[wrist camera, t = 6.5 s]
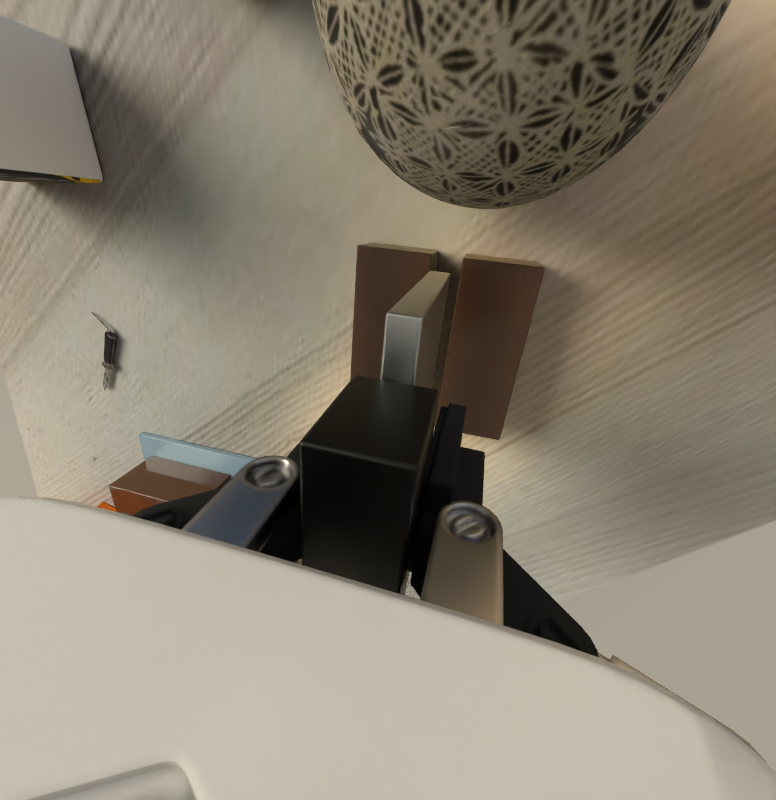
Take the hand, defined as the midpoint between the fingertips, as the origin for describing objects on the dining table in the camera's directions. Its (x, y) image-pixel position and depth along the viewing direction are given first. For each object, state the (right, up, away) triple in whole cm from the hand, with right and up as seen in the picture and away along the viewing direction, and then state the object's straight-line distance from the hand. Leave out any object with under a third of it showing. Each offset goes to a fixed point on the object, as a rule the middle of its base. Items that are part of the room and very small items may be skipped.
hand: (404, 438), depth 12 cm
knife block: (+3, +5, +12) cm, 13 cm away
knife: (-24, +5, +19) cm, 31 cm away
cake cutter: (+1, +2, +4) cm, 5 cm away
